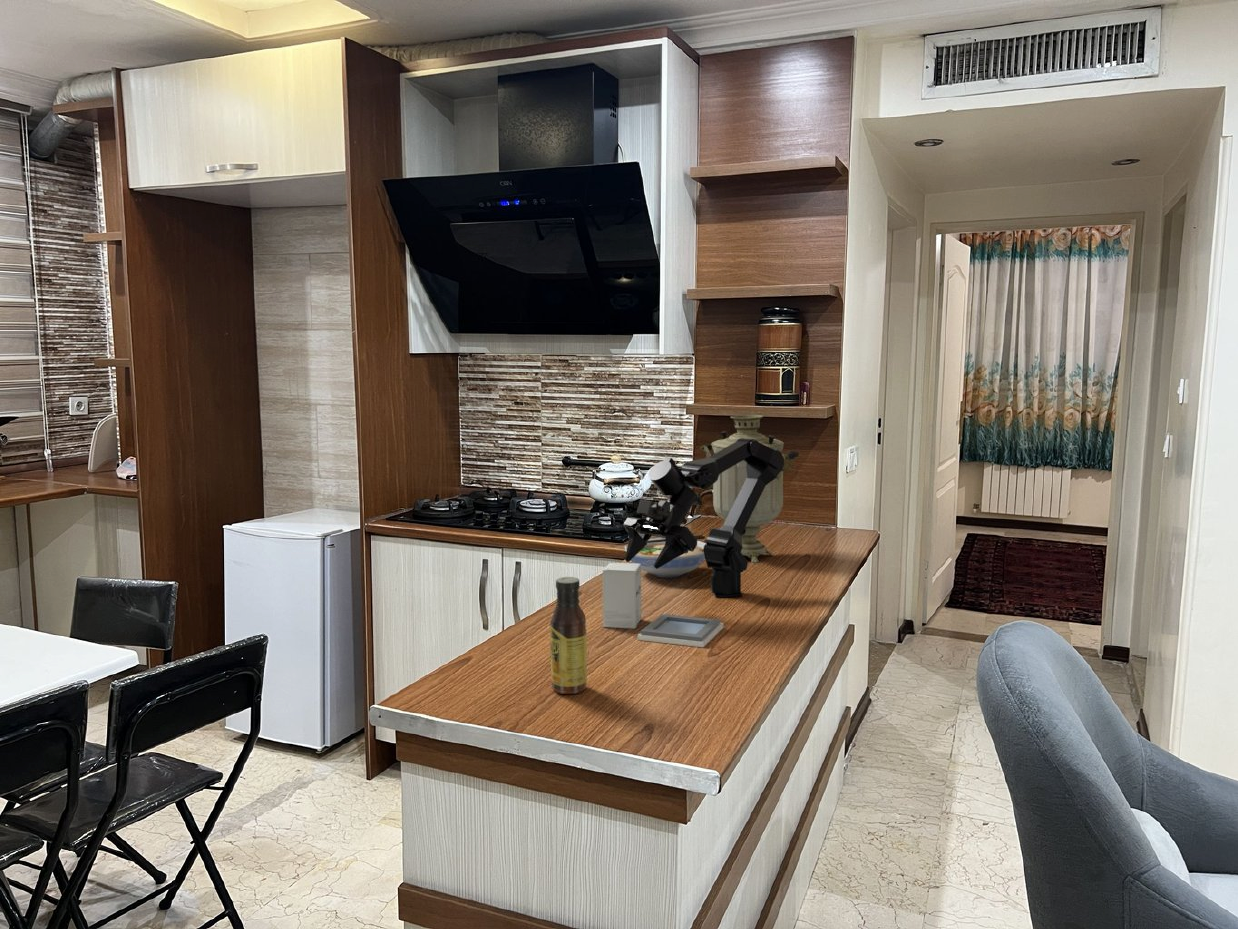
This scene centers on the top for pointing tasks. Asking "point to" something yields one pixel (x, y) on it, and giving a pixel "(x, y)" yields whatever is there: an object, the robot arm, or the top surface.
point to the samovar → (736, 476)
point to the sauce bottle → (568, 640)
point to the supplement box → (622, 595)
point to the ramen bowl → (673, 567)
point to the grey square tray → (681, 630)
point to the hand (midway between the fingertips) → (640, 564)
